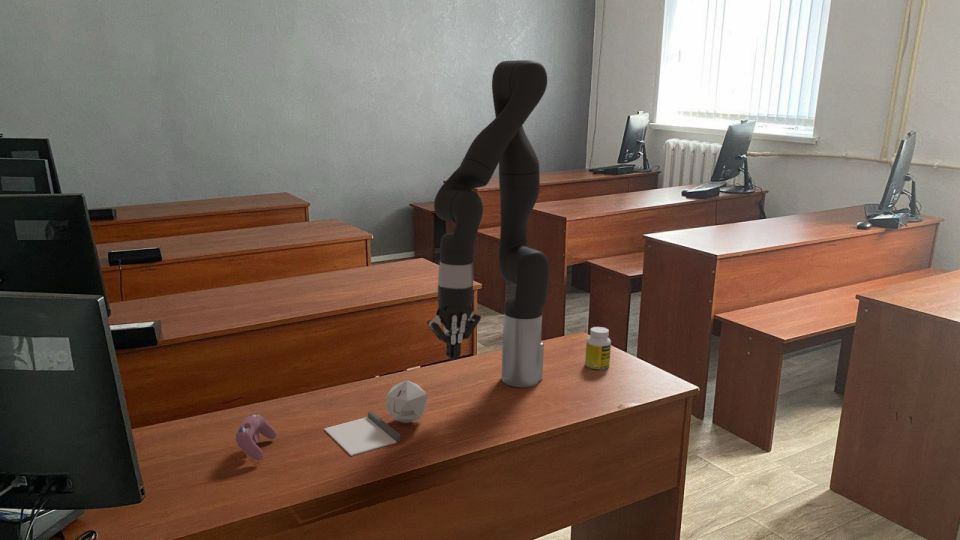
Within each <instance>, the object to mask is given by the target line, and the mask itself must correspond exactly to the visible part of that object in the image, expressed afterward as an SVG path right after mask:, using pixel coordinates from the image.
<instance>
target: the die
mask: <svg viewBox="0 0 960 540" xmlns="http://www.w3.org/2000/svg"><path fill="white" fill-rule="evenodd" d="M385 399H386V400H385V403H386V407H385V410H386V411H387V412H388V413H389V415H390V416H391V417H392V418H393V419H394V420H395V421H398V422H401V423H403V424H404V423H405V424H409V423H411V422H414V421H417V420H420V419H421V418H422V416H423V415H424V413H425V411H426V409H427V403H428V402H427V399H428V393H427V392H426V391H425V390H424V389H422V387H421V386H420V385H419V384H417V383H415V382H412V381H410V380H407V379H406V380H403V381H401V382H398V383H397V384H394V385H393V386H392V387H391V389H390V391H388V393H387V394H386V398H385Z"/></svg>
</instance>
